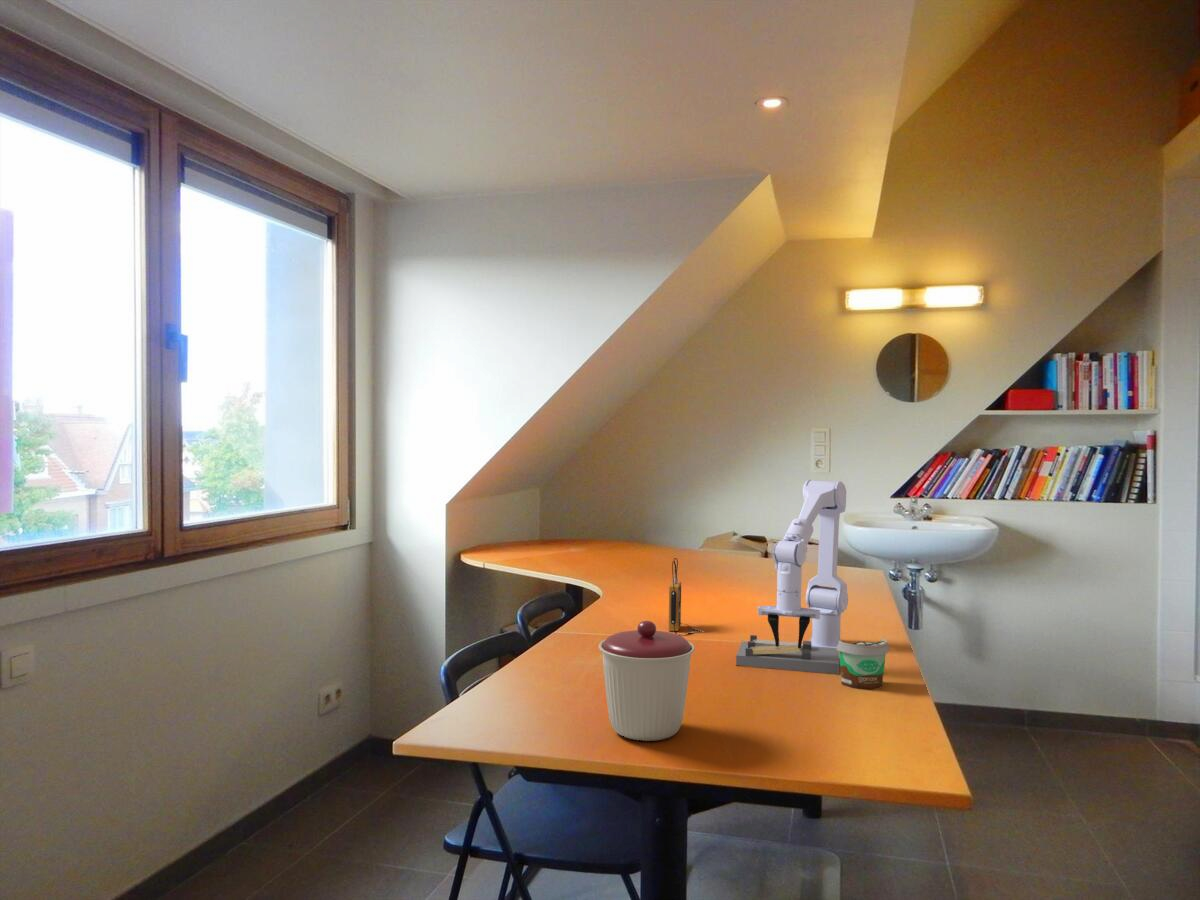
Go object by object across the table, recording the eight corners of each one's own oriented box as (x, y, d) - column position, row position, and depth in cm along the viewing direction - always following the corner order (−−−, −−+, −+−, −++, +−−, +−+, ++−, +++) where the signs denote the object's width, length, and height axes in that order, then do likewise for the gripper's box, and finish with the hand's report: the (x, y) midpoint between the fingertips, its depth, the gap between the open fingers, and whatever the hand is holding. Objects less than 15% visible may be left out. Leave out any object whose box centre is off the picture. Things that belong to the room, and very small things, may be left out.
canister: (686, 715, 170) (688, 610, 169) (700, 749, 151) (701, 633, 151) (596, 715, 169) (597, 610, 168) (599, 750, 151) (600, 633, 150)
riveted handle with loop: (702, 637, 232) (703, 564, 231) (666, 635, 234) (667, 563, 233) (707, 624, 246) (707, 556, 245) (672, 623, 248) (673, 555, 247)
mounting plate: (741, 650, 218) (741, 634, 218) (838, 658, 212) (838, 641, 212) (736, 665, 204) (736, 648, 204) (839, 674, 198) (839, 656, 198)
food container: (850, 693, 184) (851, 647, 184) (835, 684, 190) (836, 640, 190) (900, 689, 188) (900, 644, 187) (883, 680, 194) (884, 637, 193)
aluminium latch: (752, 646, 212) (752, 642, 212) (753, 642, 216) (753, 639, 216) (801, 650, 209) (801, 646, 209) (801, 647, 213) (801, 643, 213)
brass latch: (749, 654, 205) (748, 650, 205) (750, 650, 208) (750, 646, 208) (799, 652, 202) (799, 648, 202) (800, 648, 205) (799, 644, 205)
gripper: (757, 591, 202) (756, 648, 202) (820, 595, 198) (819, 653, 198) (759, 586, 208) (758, 641, 209) (820, 589, 205) (819, 645, 205)
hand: (788, 646), depth 204 cm, fingers open, 4 cm apart
